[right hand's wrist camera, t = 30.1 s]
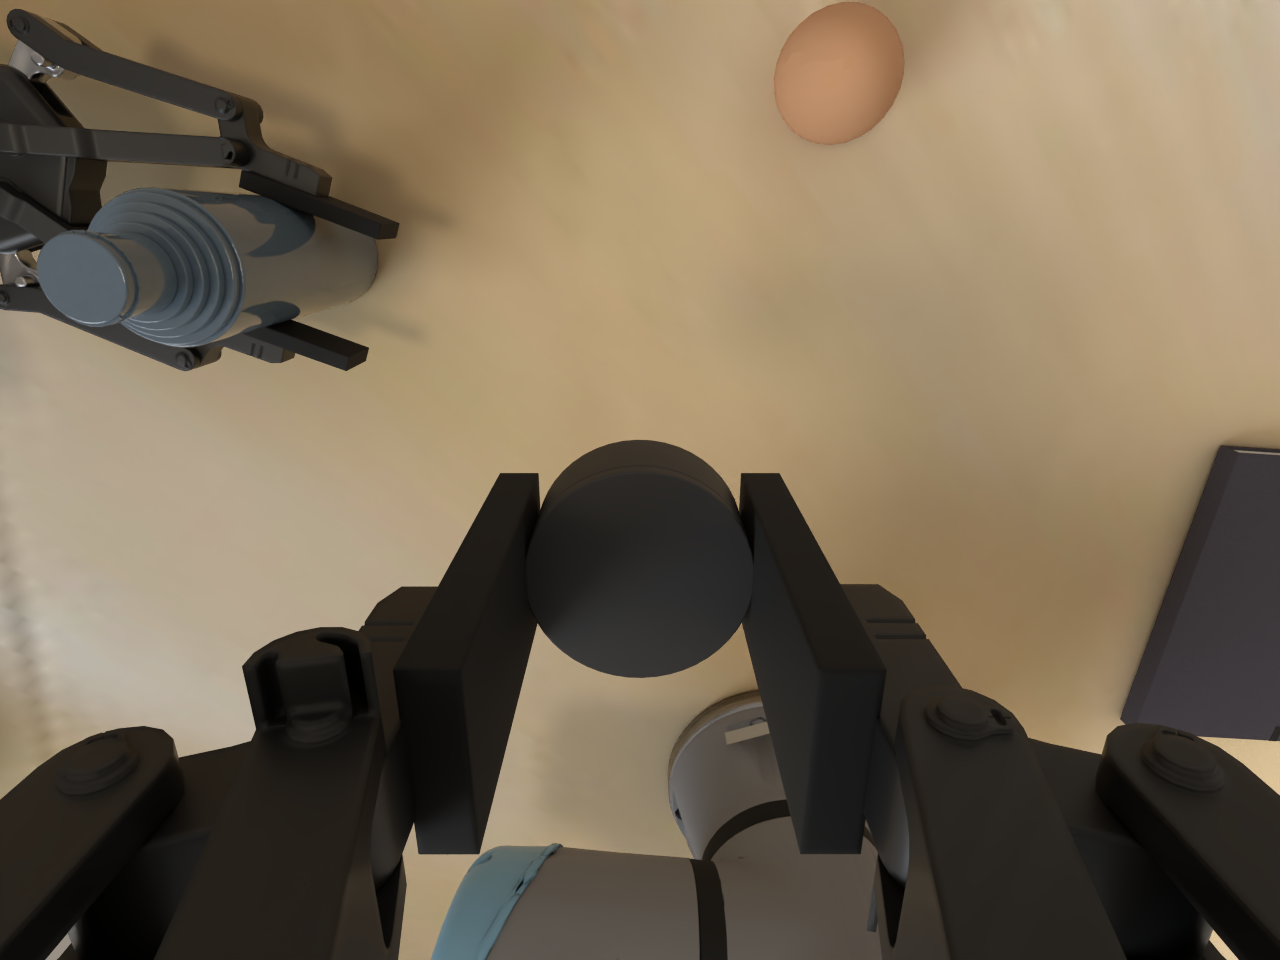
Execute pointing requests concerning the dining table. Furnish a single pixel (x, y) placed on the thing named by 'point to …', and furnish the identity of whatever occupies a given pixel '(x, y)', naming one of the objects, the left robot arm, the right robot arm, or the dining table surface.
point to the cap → (639, 560)
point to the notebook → (1221, 612)
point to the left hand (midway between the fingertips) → (372, 296)
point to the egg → (839, 73)
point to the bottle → (202, 265)
